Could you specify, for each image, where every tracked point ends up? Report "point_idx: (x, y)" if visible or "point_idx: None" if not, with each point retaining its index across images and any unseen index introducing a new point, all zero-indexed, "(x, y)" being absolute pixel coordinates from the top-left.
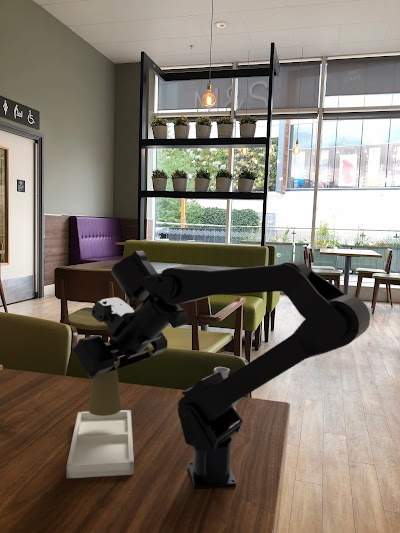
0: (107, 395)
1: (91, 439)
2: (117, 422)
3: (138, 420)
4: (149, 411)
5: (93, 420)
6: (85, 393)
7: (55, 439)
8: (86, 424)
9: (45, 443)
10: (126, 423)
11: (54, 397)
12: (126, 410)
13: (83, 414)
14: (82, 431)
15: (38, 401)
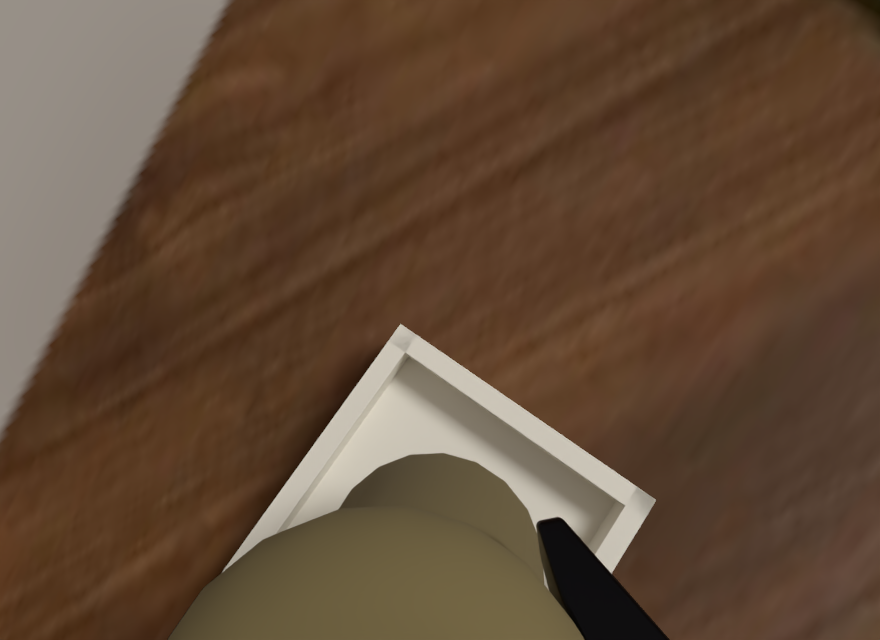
0: None
1: None
2: (538, 517)
3: (671, 528)
4: (792, 471)
5: (449, 409)
6: (618, 53)
7: (231, 430)
8: (395, 428)
9: (179, 436)
10: None
11: (464, 12)
12: (632, 486)
13: (414, 357)
14: (336, 486)
15: (380, 12)
